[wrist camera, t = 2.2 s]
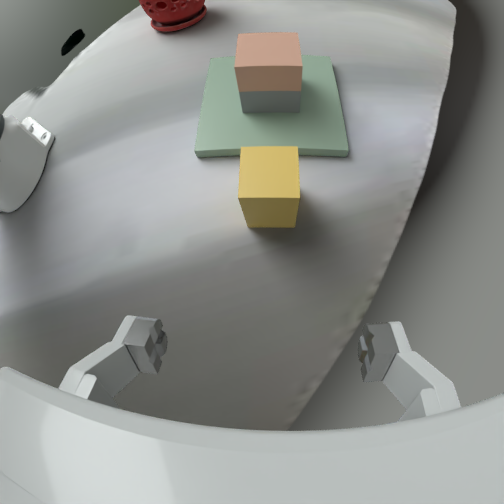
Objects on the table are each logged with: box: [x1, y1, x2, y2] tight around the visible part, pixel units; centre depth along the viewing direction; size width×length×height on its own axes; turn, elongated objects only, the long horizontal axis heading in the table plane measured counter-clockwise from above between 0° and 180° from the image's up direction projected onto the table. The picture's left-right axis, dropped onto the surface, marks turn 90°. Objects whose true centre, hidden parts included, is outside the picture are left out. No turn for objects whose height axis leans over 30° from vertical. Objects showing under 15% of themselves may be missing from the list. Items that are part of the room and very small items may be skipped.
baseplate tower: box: [194, 32, 349, 157], centre depth 30 cm, size 18×18×10 cm
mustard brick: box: [238, 146, 300, 228], centre depth 27 cm, size 5×5×8 cm
